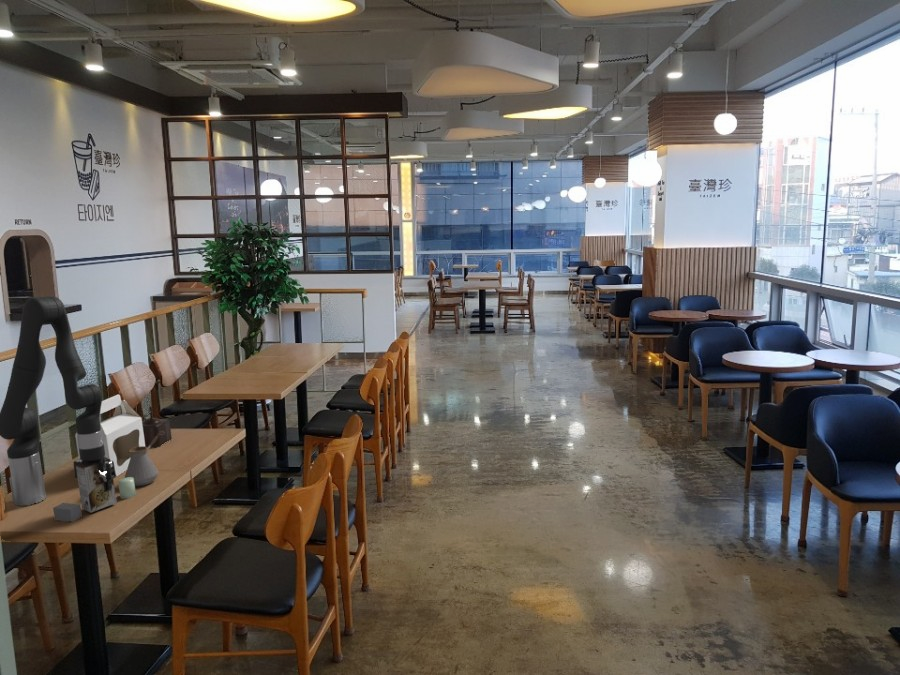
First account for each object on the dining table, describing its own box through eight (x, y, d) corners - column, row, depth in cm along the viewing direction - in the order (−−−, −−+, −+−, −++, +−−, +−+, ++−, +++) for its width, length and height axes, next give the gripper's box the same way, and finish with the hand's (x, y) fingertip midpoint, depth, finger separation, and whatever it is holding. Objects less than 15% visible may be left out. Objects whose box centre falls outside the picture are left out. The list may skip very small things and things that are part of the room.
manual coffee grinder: (150, 438, 305) (145, 399, 302) (172, 439, 303) (167, 400, 299) (127, 451, 290) (121, 410, 287) (150, 451, 288) (145, 410, 284)
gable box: (118, 457, 283) (109, 391, 278) (147, 458, 280) (138, 391, 275) (81, 478, 261) (70, 407, 256) (112, 479, 259) (101, 408, 254)
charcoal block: (55, 520, 225) (53, 507, 224) (64, 515, 229) (62, 502, 228) (72, 522, 223) (70, 509, 222) (82, 517, 227) (80, 504, 226)
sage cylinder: (117, 498, 241) (114, 482, 240) (126, 492, 245) (124, 476, 244) (129, 499, 240) (127, 483, 238) (138, 493, 244) (136, 477, 243)
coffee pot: (147, 489, 248) (141, 449, 245) (118, 488, 250) (113, 448, 247) (180, 466, 269) (175, 430, 266) (153, 466, 271) (148, 429, 268)
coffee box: (107, 499, 239) (101, 454, 236) (117, 503, 235) (111, 458, 232) (81, 508, 232) (74, 463, 229) (90, 513, 228) (84, 467, 225)
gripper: (64, 447, 227) (71, 493, 230) (101, 449, 224) (108, 496, 227) (80, 439, 234) (87, 484, 238) (117, 441, 231) (123, 486, 234)
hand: (97, 490), depth 232 cm, fingers closed on coffee box, 8 cm apart
